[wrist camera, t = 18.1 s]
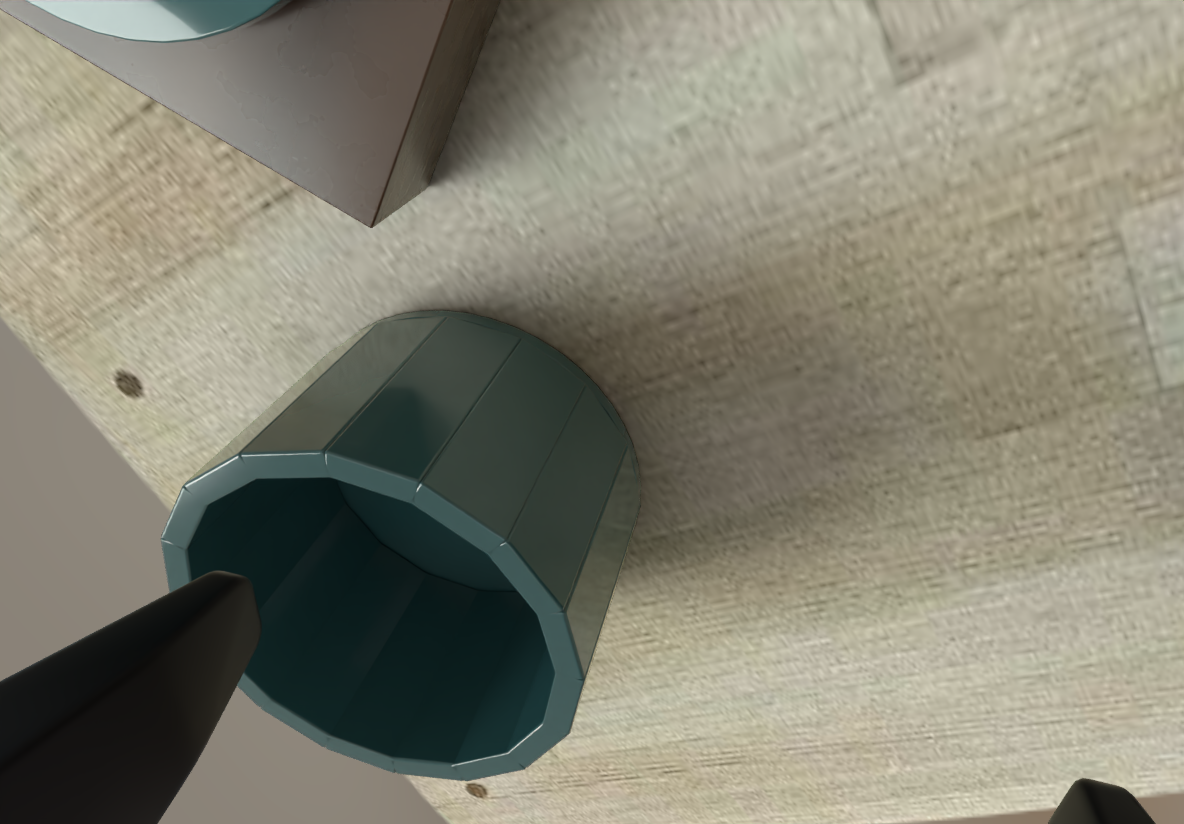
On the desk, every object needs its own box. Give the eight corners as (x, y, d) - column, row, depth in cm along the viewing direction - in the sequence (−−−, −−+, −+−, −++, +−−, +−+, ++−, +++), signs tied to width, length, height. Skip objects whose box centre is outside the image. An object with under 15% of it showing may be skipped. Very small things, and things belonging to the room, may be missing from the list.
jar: (604, 293, 21) (516, 444, 15) (666, 600, 26) (618, 799, 20) (262, 324, 24) (84, 457, 18) (378, 591, 29) (267, 760, 24)
